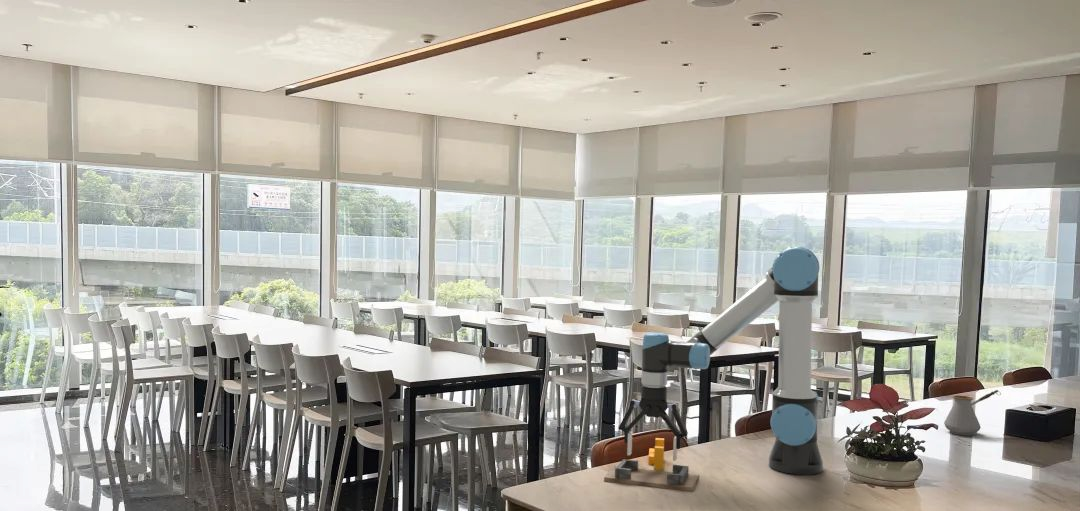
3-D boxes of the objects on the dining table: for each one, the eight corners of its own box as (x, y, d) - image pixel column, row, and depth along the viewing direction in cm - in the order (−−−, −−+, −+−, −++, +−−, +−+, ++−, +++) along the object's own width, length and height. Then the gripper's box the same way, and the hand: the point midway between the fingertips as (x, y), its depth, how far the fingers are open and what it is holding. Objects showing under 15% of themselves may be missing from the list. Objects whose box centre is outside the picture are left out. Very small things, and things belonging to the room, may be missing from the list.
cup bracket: (698, 478, 220) (699, 466, 220) (692, 491, 208) (692, 478, 208) (614, 469, 228) (614, 457, 228) (604, 480, 216) (604, 468, 216)
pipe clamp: (649, 458, 241) (649, 437, 240) (663, 459, 240) (664, 438, 240) (647, 469, 229) (648, 447, 229) (663, 470, 228) (663, 448, 228)
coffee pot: (960, 437, 275) (961, 394, 275) (936, 430, 286) (937, 388, 286) (1011, 435, 280) (1012, 392, 280) (985, 427, 292) (986, 387, 291)
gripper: (698, 386, 234) (696, 458, 234) (616, 379, 242) (613, 449, 242) (694, 391, 227) (692, 465, 227) (610, 383, 235) (607, 455, 235)
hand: (652, 457), depth 235 cm, fingers open, 13 cm apart
